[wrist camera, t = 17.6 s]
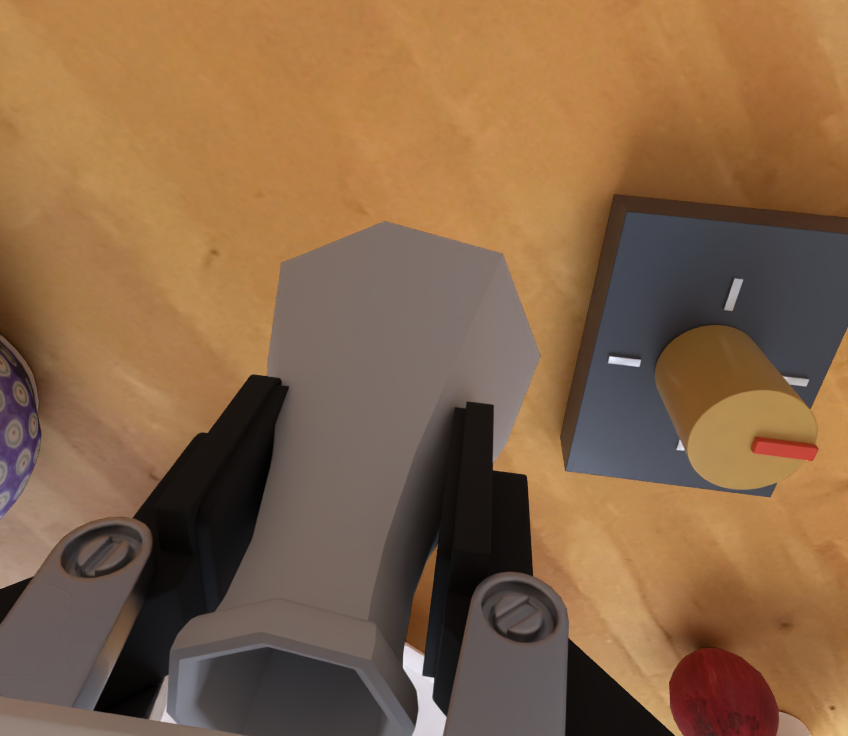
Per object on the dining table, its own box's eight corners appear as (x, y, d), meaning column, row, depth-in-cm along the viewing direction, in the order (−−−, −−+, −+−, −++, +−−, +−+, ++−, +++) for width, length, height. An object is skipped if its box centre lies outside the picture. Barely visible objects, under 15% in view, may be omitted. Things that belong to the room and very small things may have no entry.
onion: (637, 649, 40) (666, 778, 33) (707, 605, 38) (755, 735, 31) (699, 690, 41) (739, 822, 34) (771, 650, 39) (831, 785, 32)
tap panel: (614, 194, 27) (627, 211, 24) (849, 217, 26) (891, 239, 23) (559, 436, 33) (565, 473, 30) (749, 460, 32) (772, 500, 30)
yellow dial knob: (643, 405, 28) (674, 486, 23) (669, 318, 26) (710, 386, 21) (740, 418, 28) (794, 502, 23) (775, 331, 26) (843, 403, 21)
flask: (294, 463, 18) (108, 847, 10) (242, 225, 15) (-116, 486, 6) (538, 463, 17) (577, 892, 9) (541, 210, 14) (609, 493, 5)
